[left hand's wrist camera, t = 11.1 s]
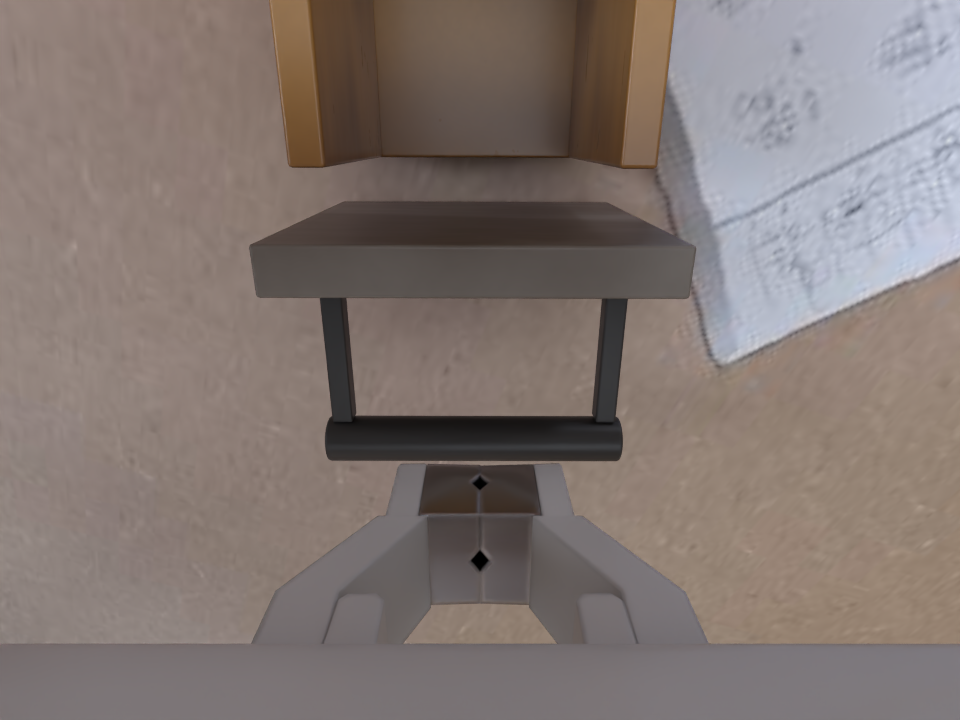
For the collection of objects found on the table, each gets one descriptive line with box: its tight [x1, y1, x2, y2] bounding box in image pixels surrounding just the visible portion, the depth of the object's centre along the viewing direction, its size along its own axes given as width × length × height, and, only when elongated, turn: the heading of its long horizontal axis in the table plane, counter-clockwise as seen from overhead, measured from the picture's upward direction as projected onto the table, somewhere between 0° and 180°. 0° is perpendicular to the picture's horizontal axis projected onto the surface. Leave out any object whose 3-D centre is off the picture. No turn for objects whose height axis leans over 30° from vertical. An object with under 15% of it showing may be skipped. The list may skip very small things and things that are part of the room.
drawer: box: [249, 0, 696, 461], centre depth 15 cm, size 22×10×9 cm, turn 0°
